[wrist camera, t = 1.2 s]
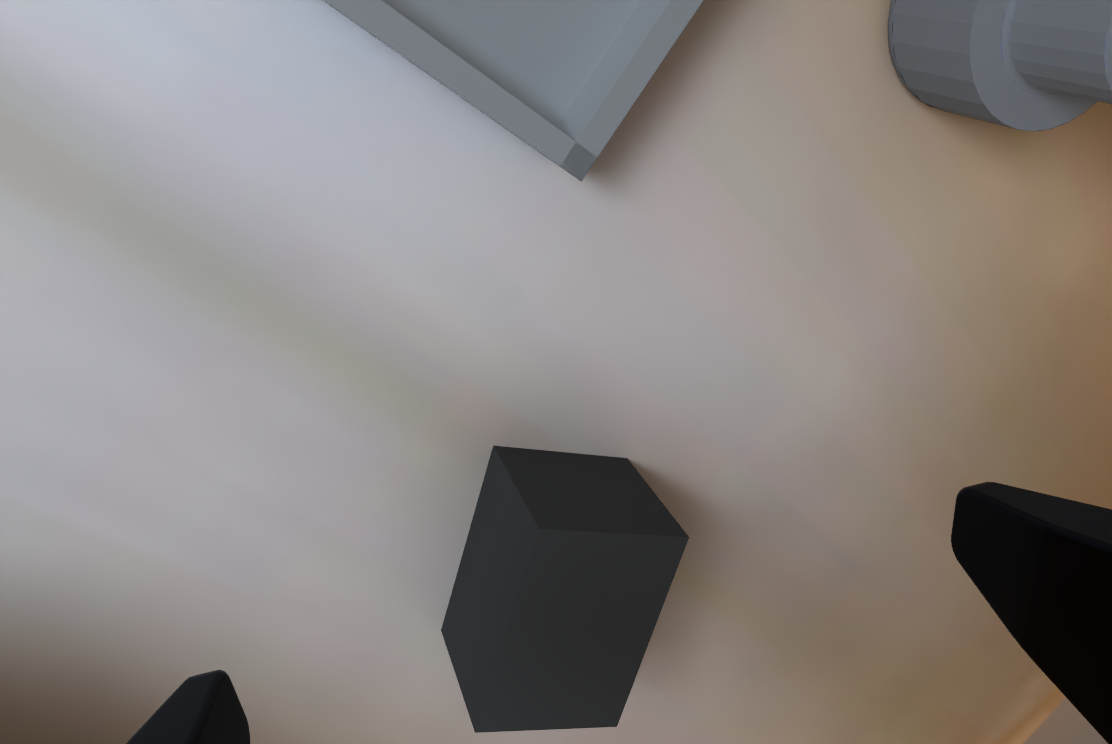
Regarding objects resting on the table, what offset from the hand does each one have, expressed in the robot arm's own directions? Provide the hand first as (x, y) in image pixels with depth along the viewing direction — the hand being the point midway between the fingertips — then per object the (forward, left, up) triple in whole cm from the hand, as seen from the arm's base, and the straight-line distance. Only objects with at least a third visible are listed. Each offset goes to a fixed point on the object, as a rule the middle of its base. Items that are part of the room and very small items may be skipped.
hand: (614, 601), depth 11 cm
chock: (-5, -7, -12) cm, 15 cm away
